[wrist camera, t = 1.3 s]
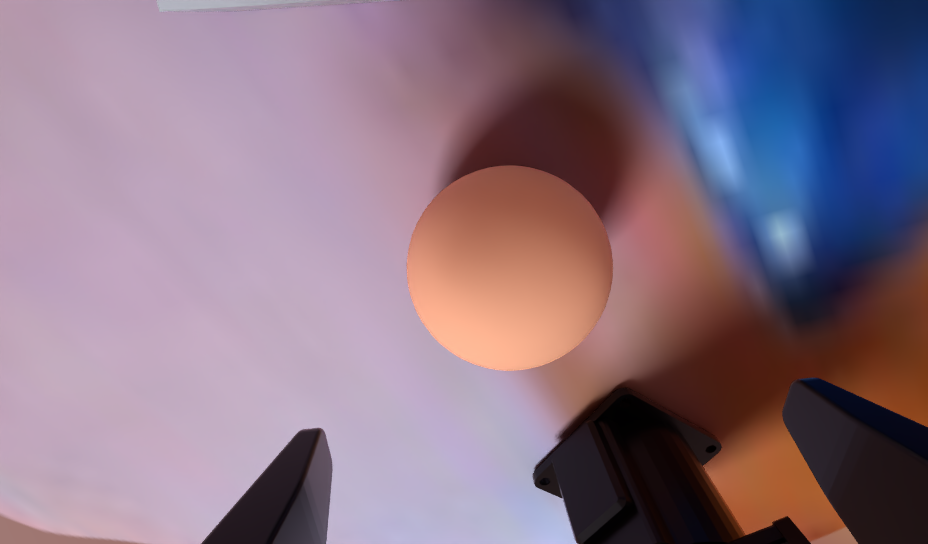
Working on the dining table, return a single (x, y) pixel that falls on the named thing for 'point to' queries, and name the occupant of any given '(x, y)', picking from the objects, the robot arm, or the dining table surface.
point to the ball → (509, 267)
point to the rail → (245, 4)
